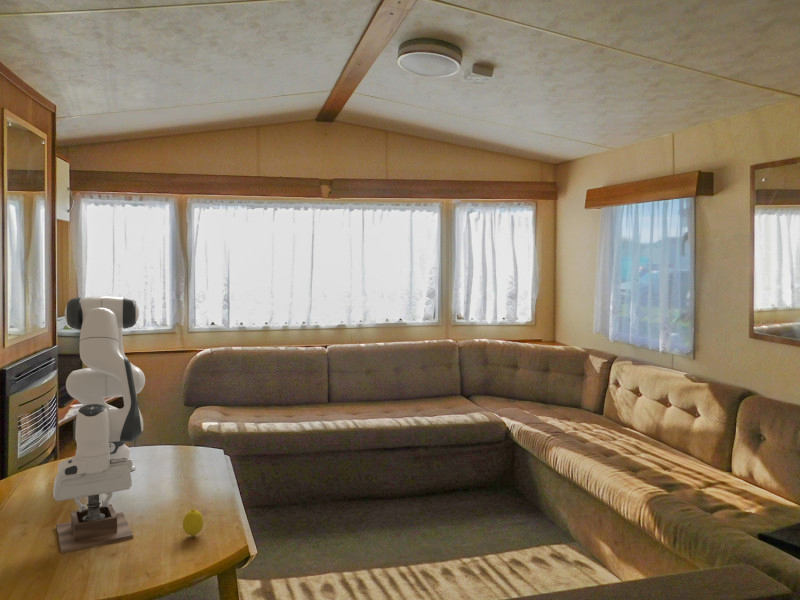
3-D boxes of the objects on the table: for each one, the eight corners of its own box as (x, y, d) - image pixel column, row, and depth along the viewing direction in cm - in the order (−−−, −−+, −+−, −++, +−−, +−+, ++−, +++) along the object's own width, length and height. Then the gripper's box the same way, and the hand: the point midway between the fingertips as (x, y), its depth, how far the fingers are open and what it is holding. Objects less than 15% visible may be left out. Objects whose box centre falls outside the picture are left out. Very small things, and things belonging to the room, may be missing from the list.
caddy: (56, 527, 184) (56, 509, 184) (122, 515, 194) (122, 497, 194) (61, 553, 169) (60, 533, 169) (132, 538, 179) (132, 519, 178)
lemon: (185, 532, 183) (185, 505, 183) (205, 532, 184) (205, 505, 183) (180, 541, 178) (180, 513, 177) (200, 540, 178) (200, 513, 178)
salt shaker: (95, 534, 178) (95, 492, 177) (77, 532, 179) (77, 490, 179) (109, 526, 184) (109, 485, 183) (92, 524, 185) (91, 484, 184)
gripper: (130, 453, 188) (130, 498, 189) (52, 464, 177) (53, 512, 178) (133, 459, 183) (134, 506, 184) (53, 471, 172) (54, 520, 173)
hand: (93, 509), depth 181 cm, fingers open, 5 cm apart
